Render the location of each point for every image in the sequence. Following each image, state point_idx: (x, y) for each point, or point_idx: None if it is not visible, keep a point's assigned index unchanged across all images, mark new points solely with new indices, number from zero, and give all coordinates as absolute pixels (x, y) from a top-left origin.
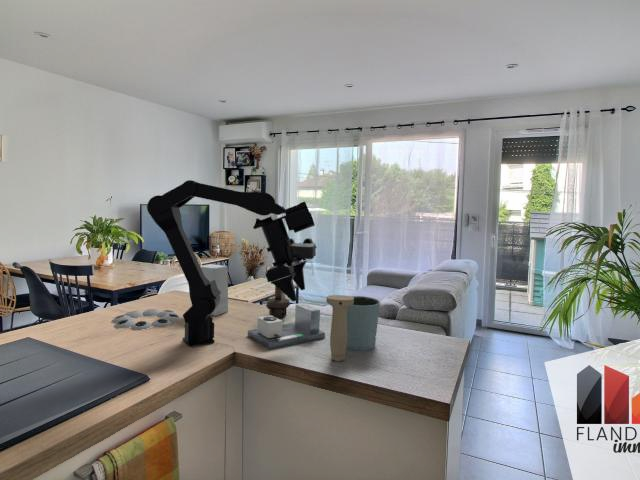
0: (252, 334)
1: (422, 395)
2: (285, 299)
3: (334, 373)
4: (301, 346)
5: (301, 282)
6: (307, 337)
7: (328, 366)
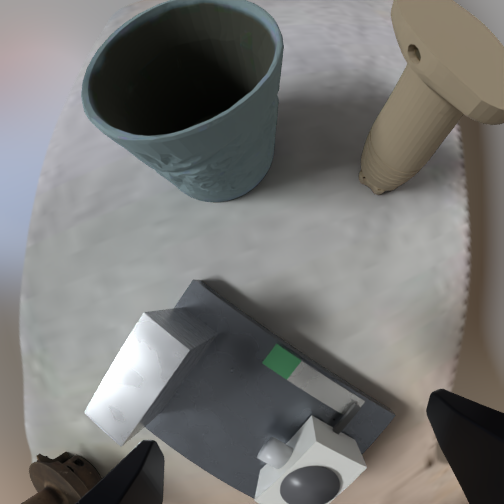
0: None
1: None
2: (35, 473)
3: (455, 164)
4: (323, 327)
5: (141, 492)
6: (263, 329)
7: (430, 188)
